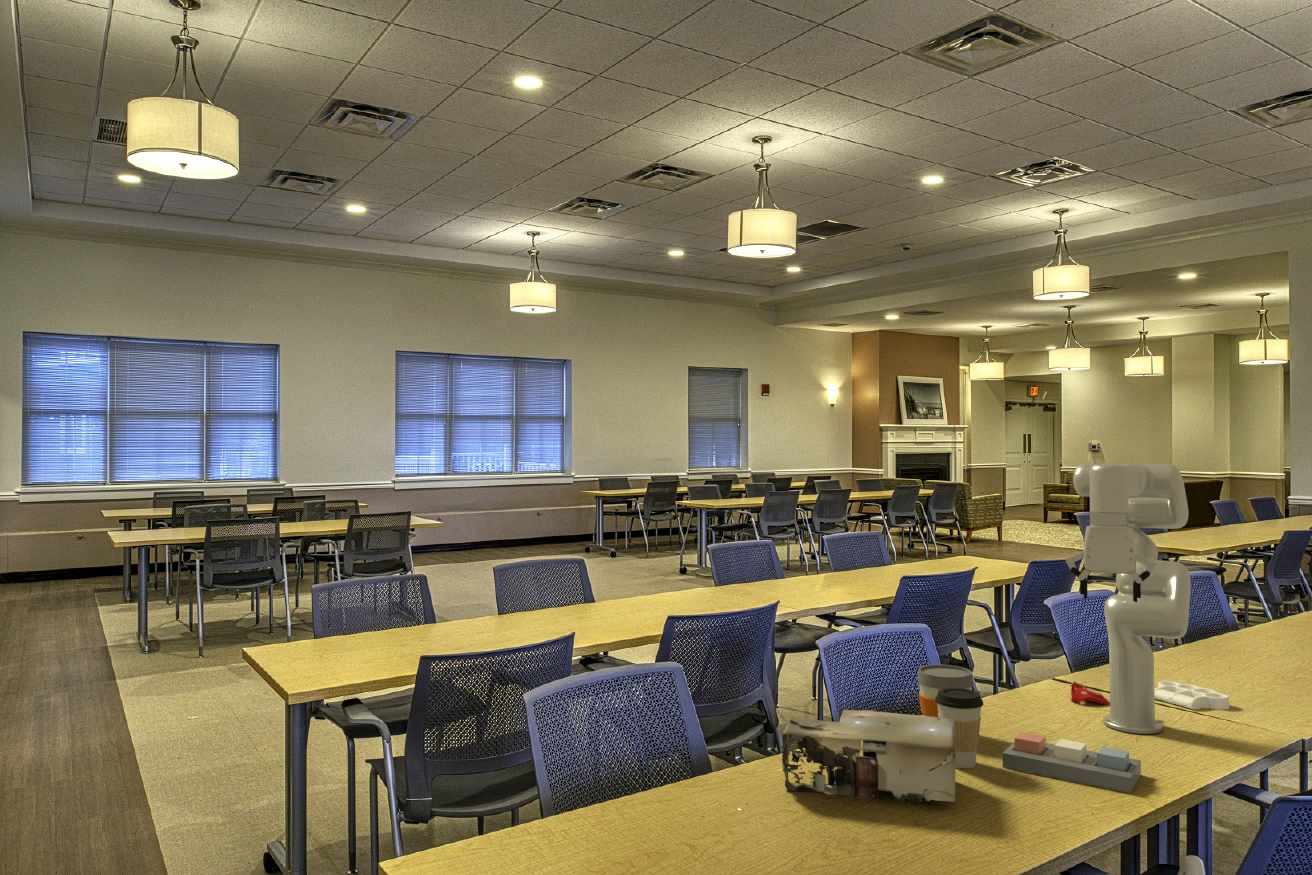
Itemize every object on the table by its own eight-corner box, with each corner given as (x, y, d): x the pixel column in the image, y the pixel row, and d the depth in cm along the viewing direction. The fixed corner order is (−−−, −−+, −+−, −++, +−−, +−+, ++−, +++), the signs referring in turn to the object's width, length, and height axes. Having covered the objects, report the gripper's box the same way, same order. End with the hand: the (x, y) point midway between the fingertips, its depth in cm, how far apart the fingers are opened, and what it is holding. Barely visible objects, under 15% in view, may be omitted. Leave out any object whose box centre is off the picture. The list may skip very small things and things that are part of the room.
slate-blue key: (1102, 765, 182) (1102, 746, 182) (1129, 770, 179) (1129, 751, 179) (1097, 772, 178) (1096, 753, 178) (1124, 778, 175) (1124, 758, 175)
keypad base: (1018, 751, 195) (1018, 737, 195) (1140, 774, 181) (1140, 760, 181) (1002, 767, 186) (1002, 752, 186) (1130, 793, 171) (1129, 777, 171)
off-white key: (1060, 757, 187) (1060, 738, 187) (1086, 762, 184) (1086, 743, 184) (1054, 764, 183) (1054, 745, 183) (1081, 769, 180) (1080, 750, 180)
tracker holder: (1117, 699, 232) (1096, 696, 226) (1111, 714, 232) (1090, 712, 227) (1076, 678, 242) (1055, 675, 237) (1070, 693, 242) (1049, 690, 237)
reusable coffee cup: (951, 723, 215) (950, 662, 215) (985, 739, 203) (984, 674, 203) (907, 729, 211) (906, 666, 211) (939, 746, 199) (938, 679, 200)
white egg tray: (1138, 697, 238) (1175, 690, 244) (1203, 715, 221) (1241, 708, 227) (1138, 684, 238) (1175, 678, 244) (1203, 702, 221) (1241, 695, 227)
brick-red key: (1021, 750, 192) (1021, 731, 192) (1045, 754, 189) (1045, 736, 189) (1014, 756, 188) (1014, 737, 188) (1039, 761, 185) (1039, 742, 185)
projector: (795, 761, 189) (794, 700, 189) (955, 780, 179) (955, 715, 179) (779, 797, 172) (779, 729, 172) (955, 819, 162) (955, 747, 161)
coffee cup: (986, 759, 191) (985, 689, 191) (982, 774, 182) (981, 701, 182) (938, 752, 195) (937, 684, 195) (932, 767, 186) (931, 696, 186)
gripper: (1153, 521, 192) (1154, 600, 191) (1066, 518, 199) (1066, 594, 199) (1155, 523, 185) (1156, 605, 184) (1064, 520, 193) (1065, 599, 192)
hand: (1110, 599), depth 192 cm, fingers open, 9 cm apart
